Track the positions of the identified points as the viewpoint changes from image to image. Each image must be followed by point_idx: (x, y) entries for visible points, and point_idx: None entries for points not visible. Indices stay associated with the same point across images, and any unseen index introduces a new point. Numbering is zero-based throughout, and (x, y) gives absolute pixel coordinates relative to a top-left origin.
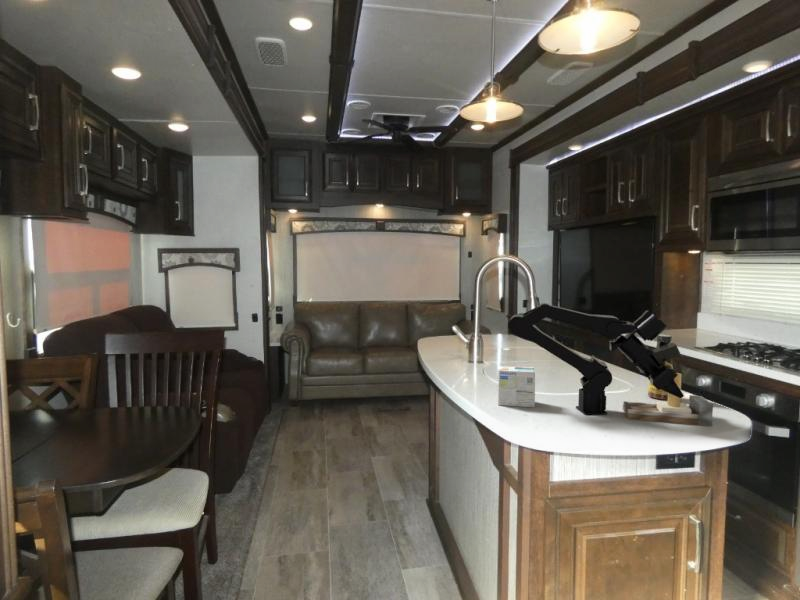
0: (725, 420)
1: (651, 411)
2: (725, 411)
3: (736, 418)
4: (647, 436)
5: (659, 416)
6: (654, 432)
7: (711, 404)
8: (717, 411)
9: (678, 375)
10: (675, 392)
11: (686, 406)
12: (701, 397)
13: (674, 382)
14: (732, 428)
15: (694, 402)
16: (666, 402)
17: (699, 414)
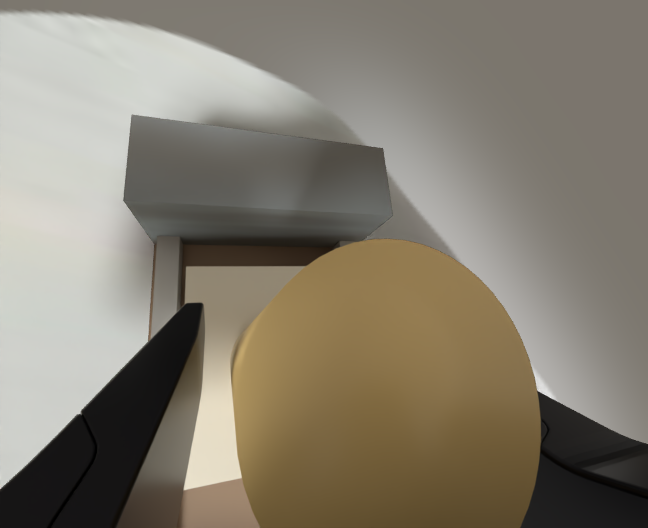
0: (226, 116)
1: None
2: (35, 39)
3: (175, 56)
4: None
5: None
6: None
7: (368, 148)
8: (44, 78)
9: (510, 336)
10: None
11: (276, 276)
12: (187, 135)
13: (579, 421)
14: (339, 141)
15: (272, 218)
16: (199, 406)
17: (364, 238)
